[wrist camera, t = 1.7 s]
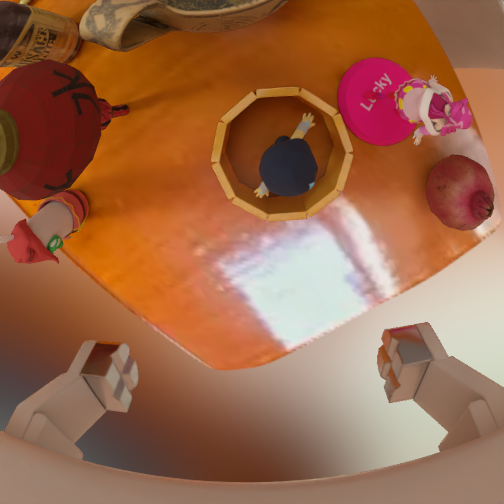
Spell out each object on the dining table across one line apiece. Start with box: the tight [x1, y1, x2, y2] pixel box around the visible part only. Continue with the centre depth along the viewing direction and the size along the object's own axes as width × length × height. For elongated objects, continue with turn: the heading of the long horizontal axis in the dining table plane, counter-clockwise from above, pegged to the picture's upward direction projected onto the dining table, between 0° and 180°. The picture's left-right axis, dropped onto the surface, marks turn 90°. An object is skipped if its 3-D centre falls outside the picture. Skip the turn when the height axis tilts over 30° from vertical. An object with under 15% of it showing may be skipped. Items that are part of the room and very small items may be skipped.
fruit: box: [426, 155, 494, 231], centre depth 27 cm, size 8×8×10 cm
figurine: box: [338, 58, 472, 146], centre depth 21 cm, size 10×10×15 cm
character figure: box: [254, 113, 318, 198], centre depth 25 cm, size 9×4×12 cm, turn 150°
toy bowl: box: [211, 86, 354, 222], centre depth 28 cm, size 12×13×5 cm
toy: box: [0, 189, 89, 264], centre depth 27 cm, size 5×8×15 cm
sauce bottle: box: [0, 1, 83, 67], centre depth 15 cm, size 7×6×20 cm
